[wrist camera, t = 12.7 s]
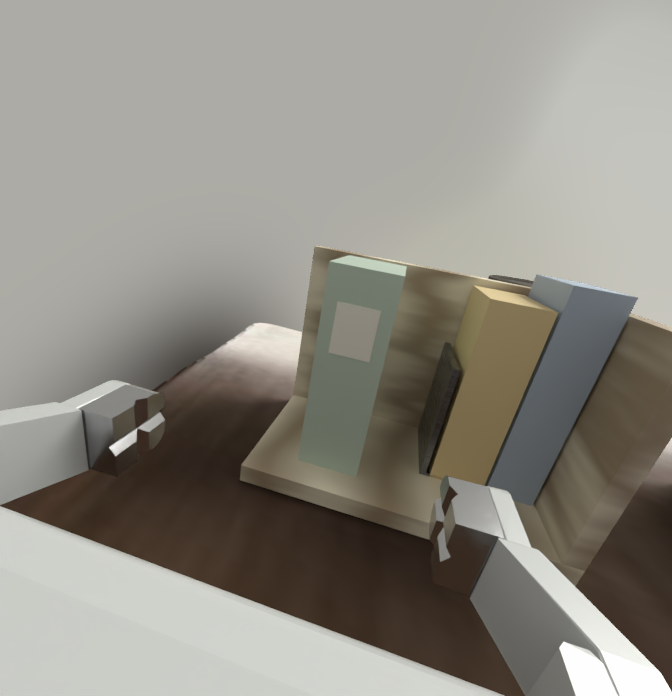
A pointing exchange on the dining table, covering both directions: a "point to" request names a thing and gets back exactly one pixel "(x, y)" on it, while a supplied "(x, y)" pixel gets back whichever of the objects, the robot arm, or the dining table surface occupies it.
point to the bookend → (436, 406)
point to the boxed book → (349, 360)
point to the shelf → (409, 402)
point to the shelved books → (524, 380)
